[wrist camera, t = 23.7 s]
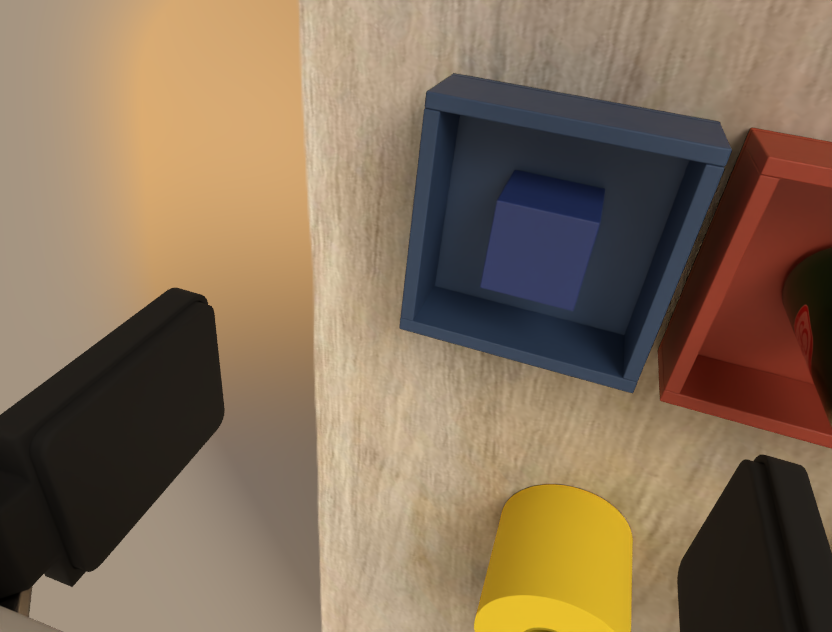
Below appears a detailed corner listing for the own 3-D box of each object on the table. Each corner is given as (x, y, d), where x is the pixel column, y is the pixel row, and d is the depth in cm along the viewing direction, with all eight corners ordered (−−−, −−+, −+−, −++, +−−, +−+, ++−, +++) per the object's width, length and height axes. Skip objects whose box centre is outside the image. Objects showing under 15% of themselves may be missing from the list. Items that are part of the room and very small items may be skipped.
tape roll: (484, 540, 50) (455, 646, 42) (528, 465, 44) (504, 572, 37) (597, 592, 49) (589, 711, 41) (657, 522, 43) (660, 645, 35)
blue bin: (453, 72, 32) (425, 90, 28) (720, 121, 29) (732, 149, 25) (424, 289, 39) (399, 329, 35) (633, 344, 37) (632, 393, 33)
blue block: (514, 169, 33) (496, 199, 29) (605, 188, 32) (600, 223, 28) (497, 249, 36) (479, 288, 32) (581, 269, 35) (573, 312, 31)
